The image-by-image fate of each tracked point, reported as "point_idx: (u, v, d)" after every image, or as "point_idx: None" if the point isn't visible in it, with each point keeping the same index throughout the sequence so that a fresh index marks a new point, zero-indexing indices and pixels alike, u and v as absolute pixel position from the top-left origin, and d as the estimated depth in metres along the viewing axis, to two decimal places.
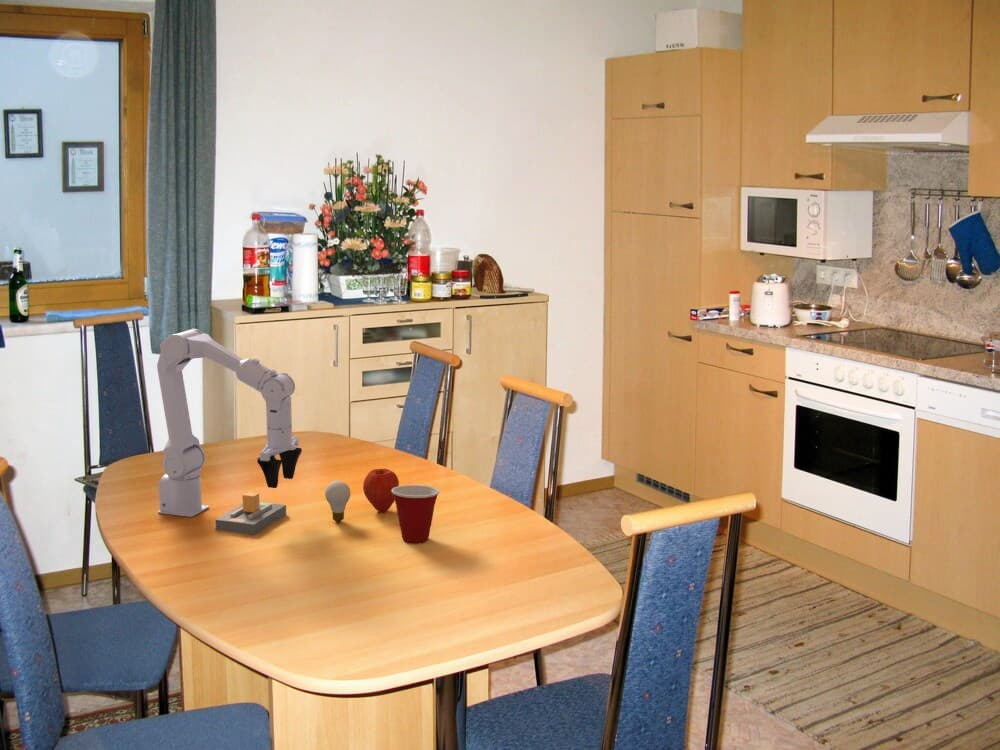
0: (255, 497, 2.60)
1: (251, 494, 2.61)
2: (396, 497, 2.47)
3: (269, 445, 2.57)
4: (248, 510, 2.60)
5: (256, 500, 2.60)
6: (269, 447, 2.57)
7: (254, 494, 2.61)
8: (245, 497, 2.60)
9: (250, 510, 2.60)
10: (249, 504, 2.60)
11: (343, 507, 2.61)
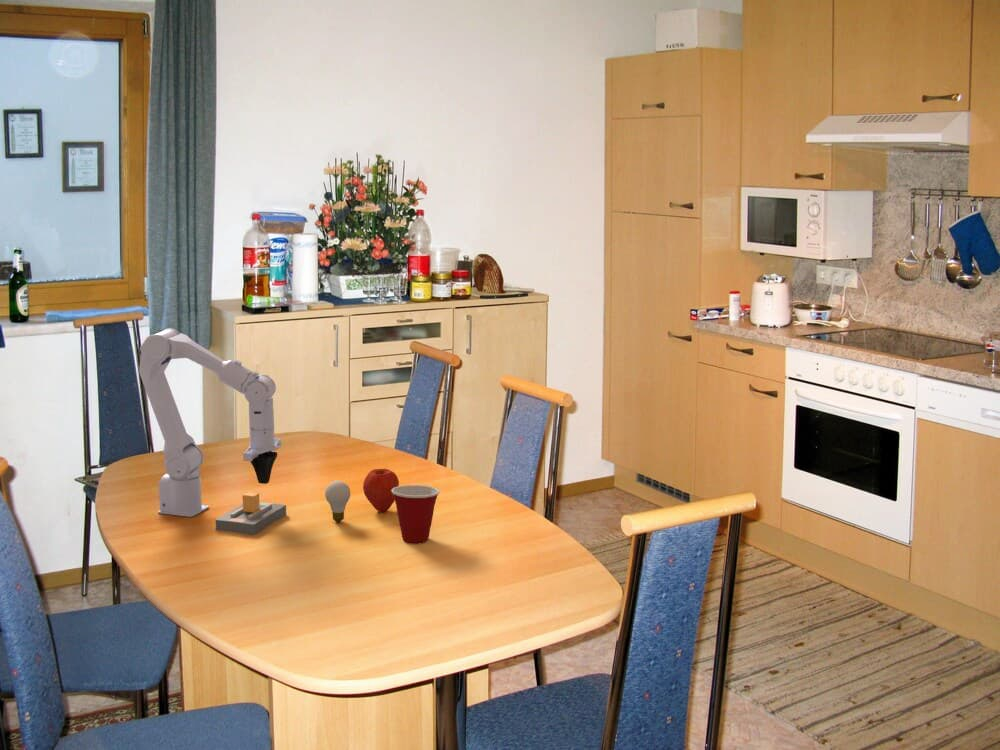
0: (255, 497, 2.60)
1: (251, 494, 2.61)
2: (396, 497, 2.47)
3: (252, 446, 2.62)
4: (248, 510, 2.60)
5: (256, 500, 2.60)
6: (252, 448, 2.62)
7: (254, 494, 2.61)
8: (245, 497, 2.60)
9: (250, 510, 2.60)
10: (249, 504, 2.60)
11: (343, 507, 2.61)
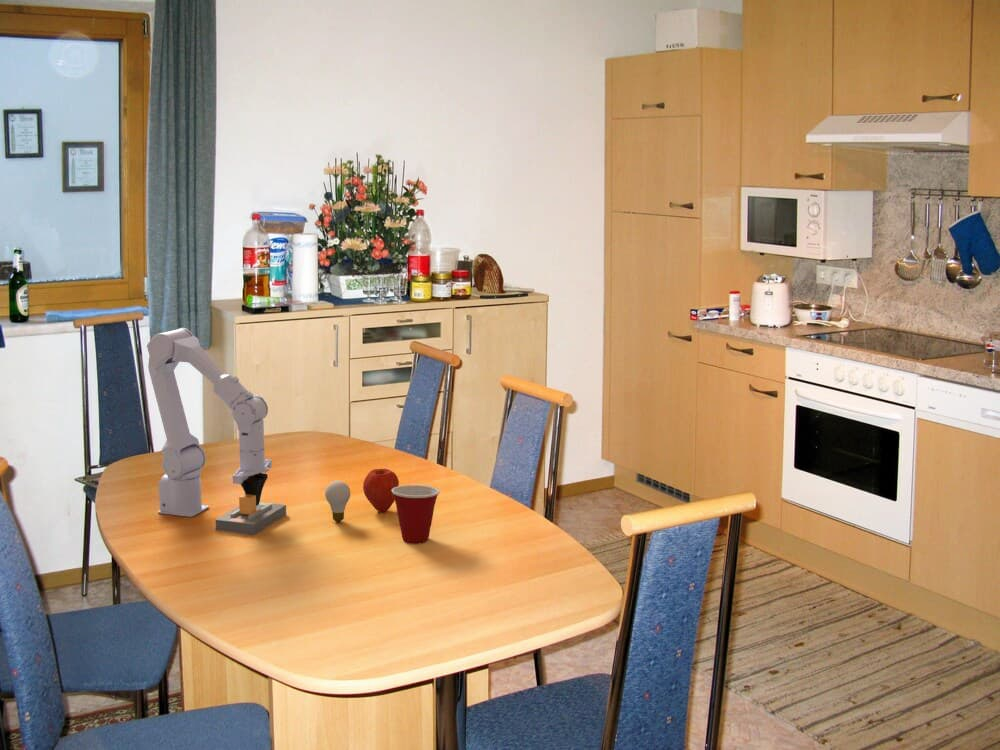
0: (251, 499, 2.58)
1: (248, 496, 2.59)
2: (396, 497, 2.47)
3: (242, 468, 2.59)
4: (245, 512, 2.59)
5: (252, 502, 2.59)
6: (242, 470, 2.58)
7: (251, 496, 2.59)
8: (242, 499, 2.59)
9: (247, 512, 2.59)
10: (246, 506, 2.59)
11: (343, 507, 2.61)
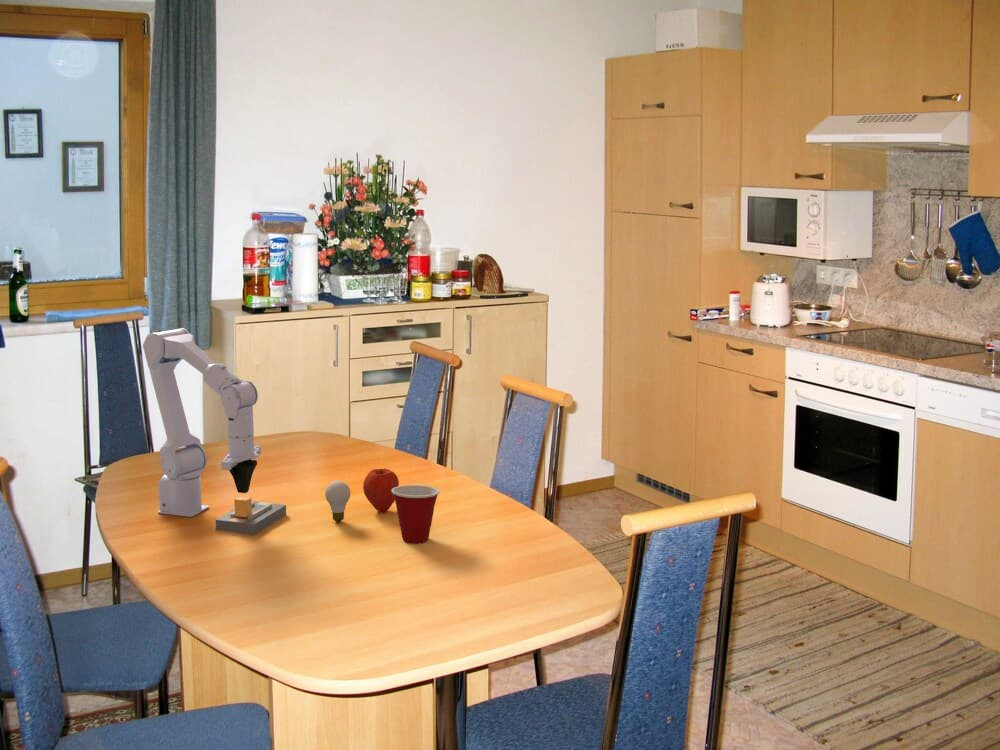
0: (247, 501, 2.56)
1: (243, 498, 2.57)
2: (396, 497, 2.47)
3: (231, 454, 2.53)
4: (240, 515, 2.57)
5: (248, 504, 2.57)
6: (231, 456, 2.53)
7: (246, 498, 2.57)
8: (237, 501, 2.57)
9: (242, 514, 2.57)
10: (241, 509, 2.57)
11: (343, 507, 2.61)
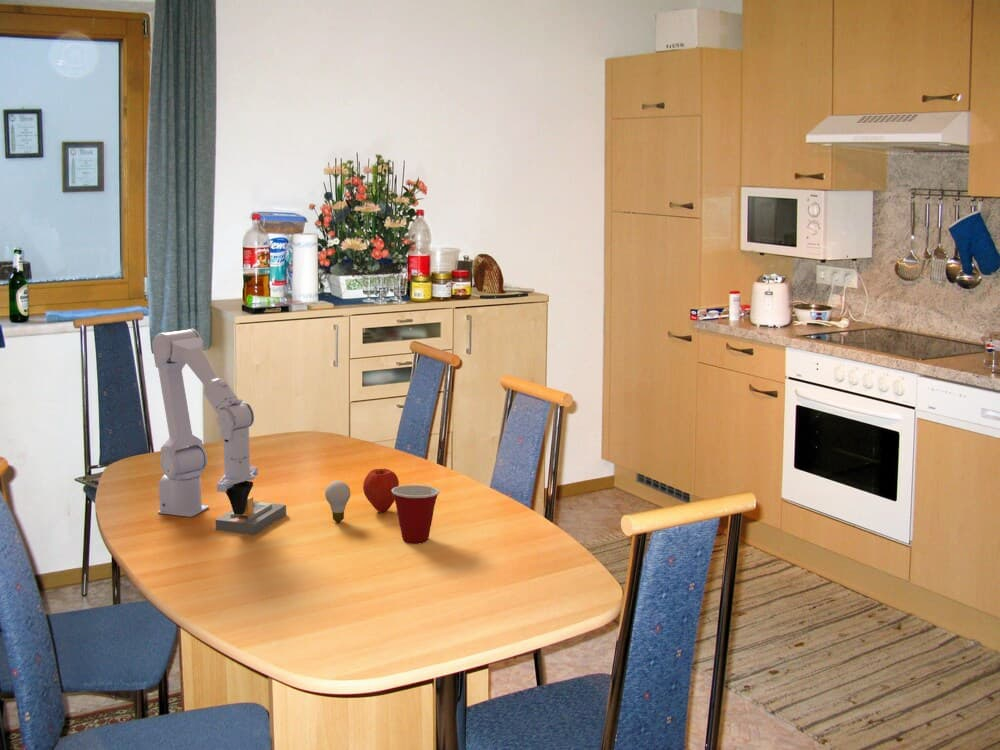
0: (249, 500, 2.57)
1: None
2: (396, 497, 2.47)
3: (226, 475, 2.52)
4: (242, 514, 2.58)
5: (250, 503, 2.58)
6: (226, 477, 2.52)
7: (248, 497, 2.58)
8: None
9: (244, 513, 2.58)
10: None
11: (343, 507, 2.61)
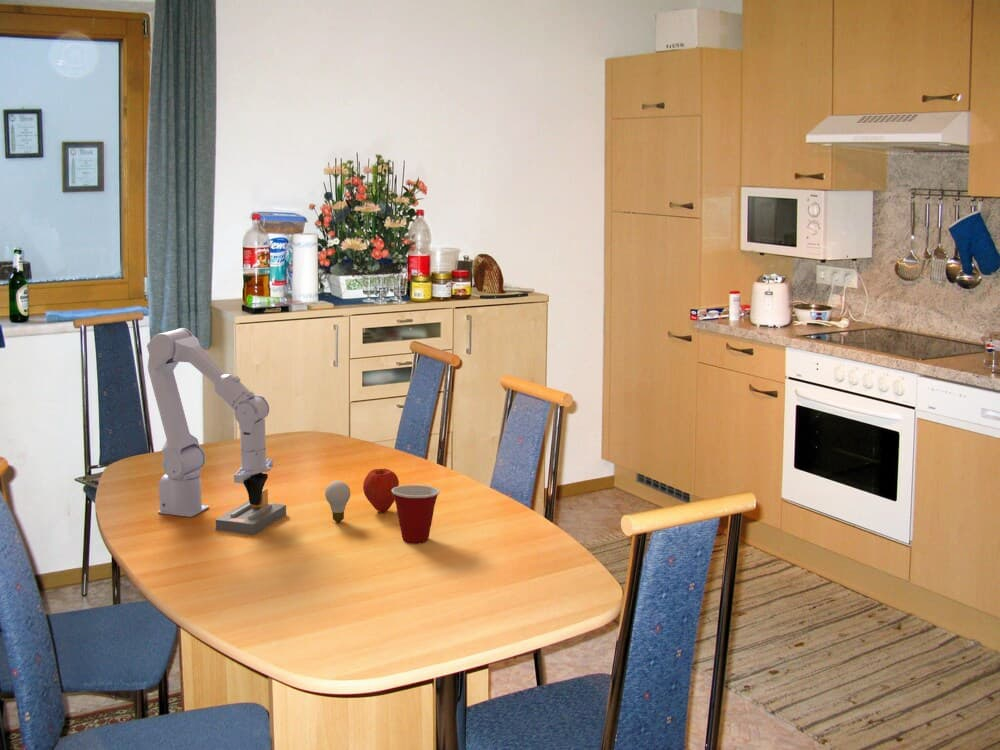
0: (263, 492, 2.63)
1: None
2: (396, 497, 2.47)
3: (243, 467, 2.59)
4: (257, 505, 2.64)
5: (264, 495, 2.64)
6: (243, 469, 2.59)
7: None
8: None
9: (258, 505, 2.64)
10: None
11: (343, 507, 2.61)
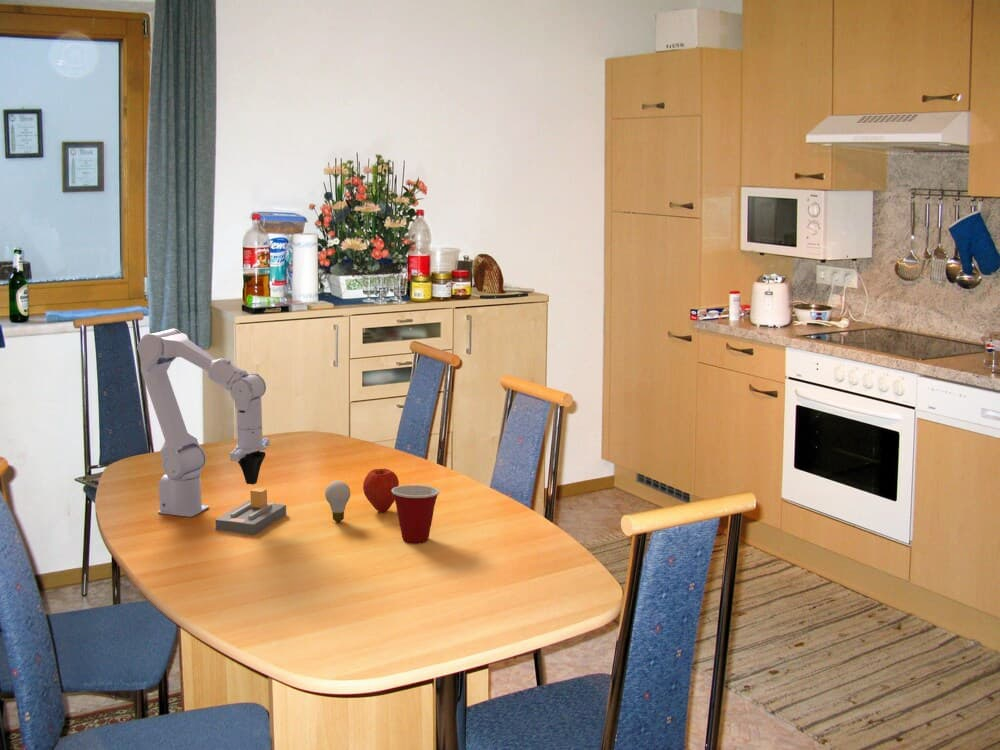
0: (262, 492, 2.63)
1: (259, 490, 2.64)
2: (396, 497, 2.47)
3: (239, 446, 2.57)
4: (256, 505, 2.64)
5: (263, 495, 2.64)
6: (239, 448, 2.57)
7: (262, 490, 2.64)
8: (253, 493, 2.63)
9: (258, 505, 2.64)
10: (257, 500, 2.63)
11: (343, 507, 2.61)
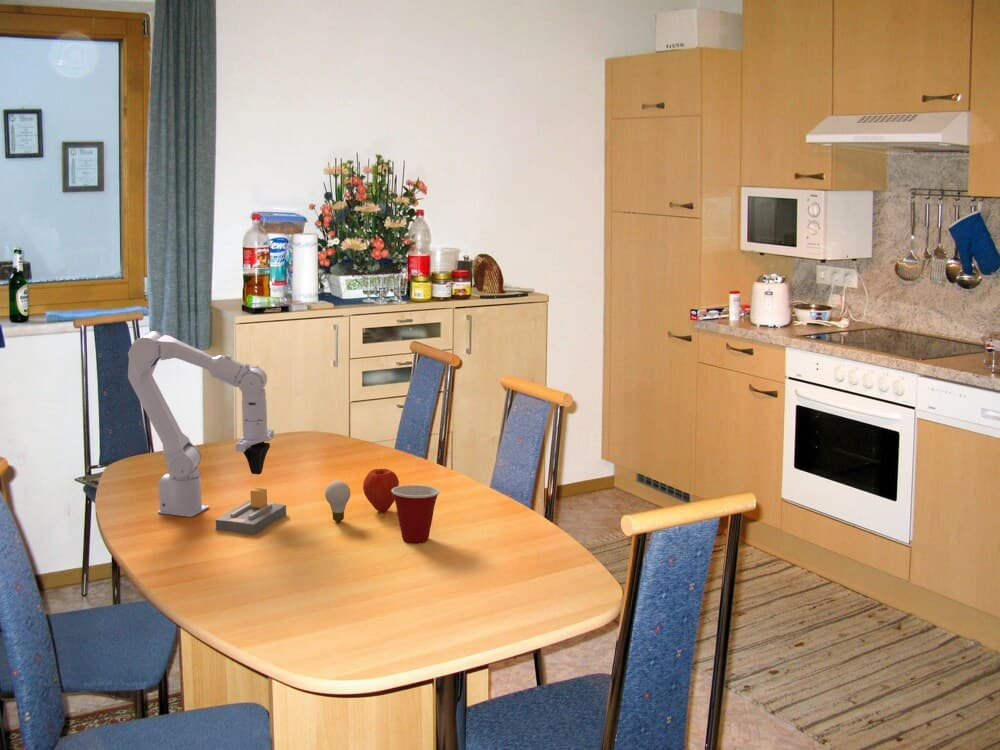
0: (262, 492, 2.63)
1: (259, 490, 2.64)
2: (396, 497, 2.47)
3: (245, 437, 2.65)
4: (256, 505, 2.64)
5: (263, 495, 2.64)
6: (245, 439, 2.65)
7: (262, 490, 2.64)
8: (253, 493, 2.63)
9: (258, 505, 2.64)
10: (257, 500, 2.63)
11: (343, 507, 2.61)
